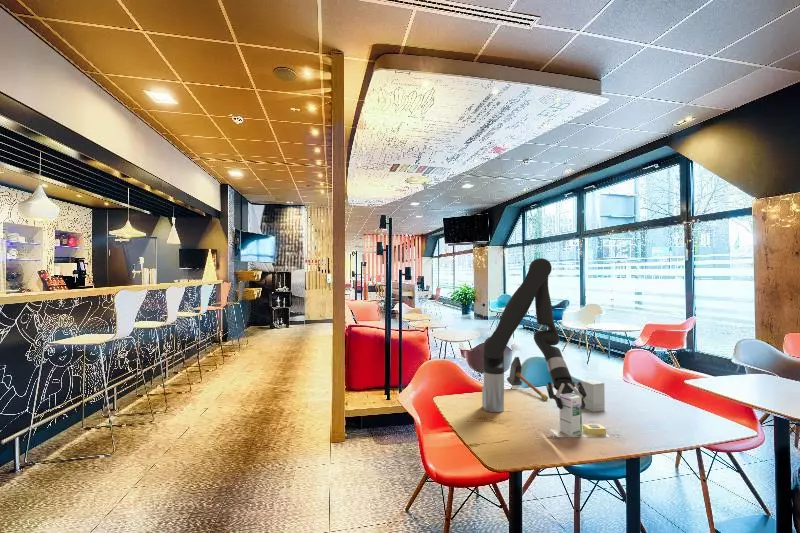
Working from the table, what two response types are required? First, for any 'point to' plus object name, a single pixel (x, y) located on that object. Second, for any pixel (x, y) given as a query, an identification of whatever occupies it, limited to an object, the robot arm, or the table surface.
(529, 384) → the hammer
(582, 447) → the table surface
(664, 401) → the table surface
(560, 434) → the board
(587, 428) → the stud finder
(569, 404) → the syrup box
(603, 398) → the supplement box
